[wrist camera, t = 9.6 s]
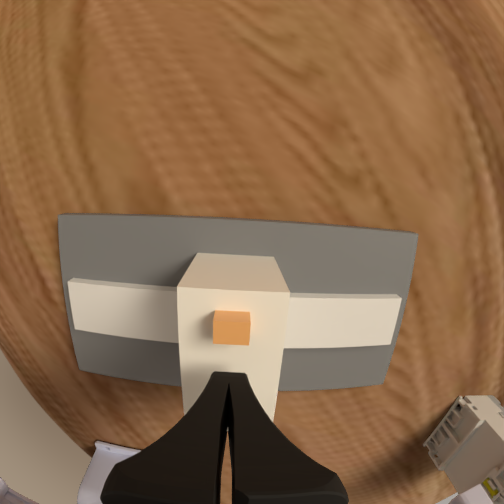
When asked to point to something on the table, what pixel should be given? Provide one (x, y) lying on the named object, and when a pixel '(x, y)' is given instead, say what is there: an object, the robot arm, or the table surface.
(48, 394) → the table surface
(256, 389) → the block
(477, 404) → the circuit breaker
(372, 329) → the din board
